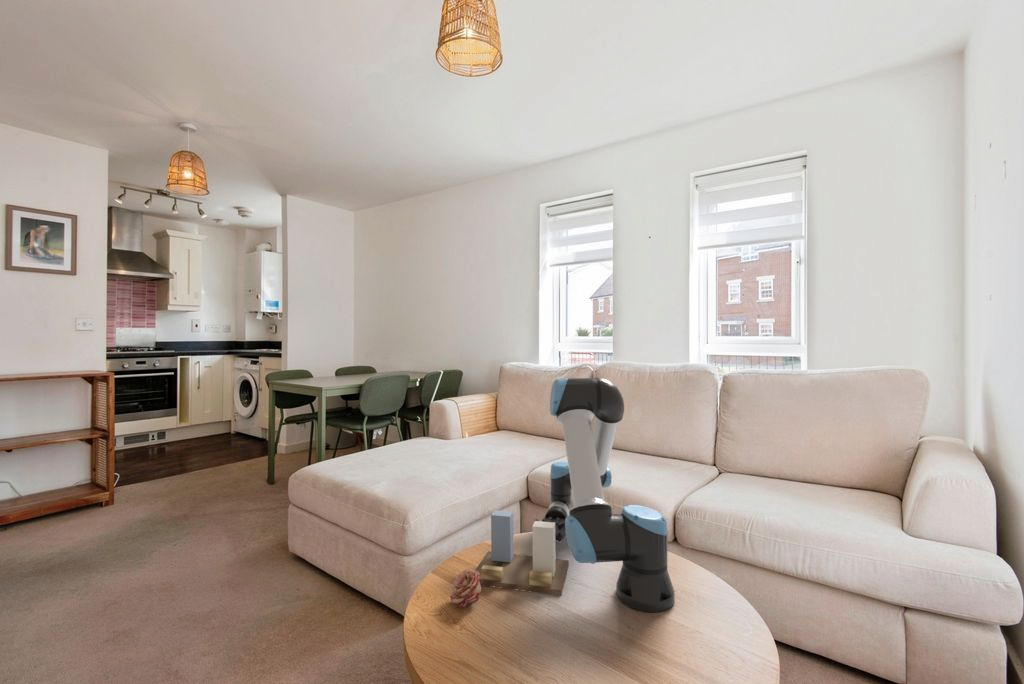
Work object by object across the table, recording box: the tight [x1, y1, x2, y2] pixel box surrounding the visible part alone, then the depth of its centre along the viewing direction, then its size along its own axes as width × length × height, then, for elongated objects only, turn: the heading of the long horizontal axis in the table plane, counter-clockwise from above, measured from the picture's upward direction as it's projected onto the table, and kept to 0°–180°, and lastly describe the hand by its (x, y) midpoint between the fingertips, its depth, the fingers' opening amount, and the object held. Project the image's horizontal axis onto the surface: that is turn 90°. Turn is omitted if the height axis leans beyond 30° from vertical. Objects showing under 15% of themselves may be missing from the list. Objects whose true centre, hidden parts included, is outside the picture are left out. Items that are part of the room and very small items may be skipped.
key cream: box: [531, 520, 557, 577], centre depth 133 cm, size 6×4×14 cm
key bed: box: [475, 550, 570, 596], centre depth 135 cm, size 26×17×4 cm, turn 76°
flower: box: [449, 568, 483, 608], centre depth 121 cm, size 10×9×8 cm
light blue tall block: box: [490, 509, 515, 563], centre depth 141 cm, size 6×4×14 cm
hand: (545, 547), depth 135 cm, fingers closed
